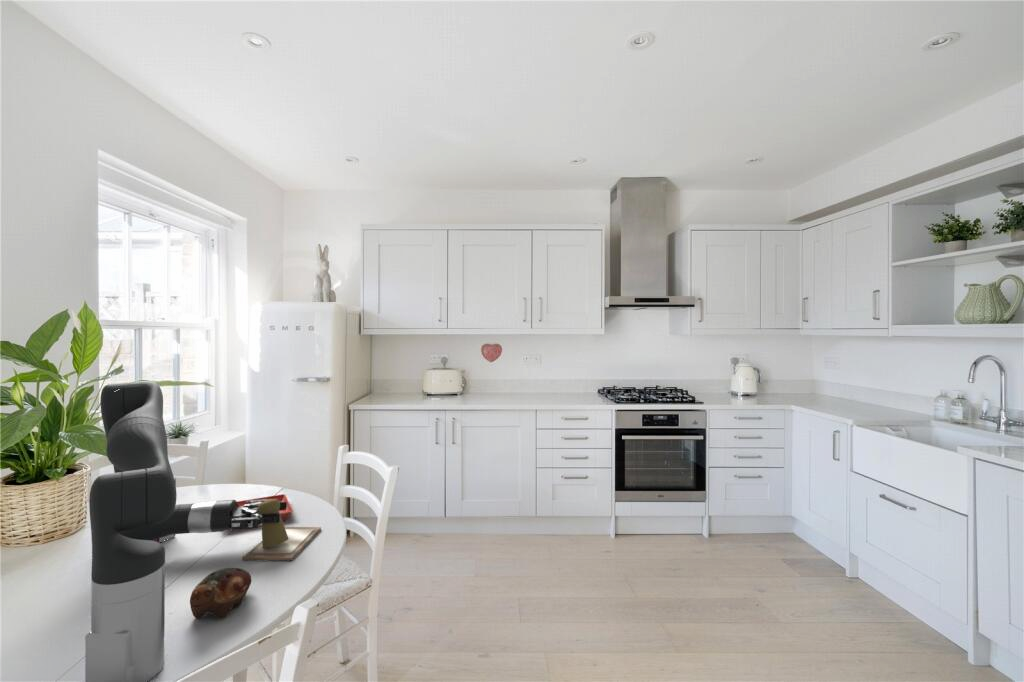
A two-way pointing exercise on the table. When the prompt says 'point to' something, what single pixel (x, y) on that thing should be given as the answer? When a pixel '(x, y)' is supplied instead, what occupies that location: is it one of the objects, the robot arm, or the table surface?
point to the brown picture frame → (284, 545)
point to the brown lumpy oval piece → (220, 592)
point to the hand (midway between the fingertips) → (283, 511)
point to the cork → (272, 525)
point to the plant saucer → (280, 498)
